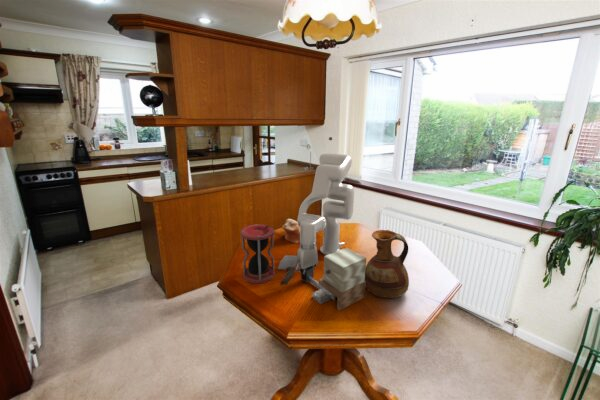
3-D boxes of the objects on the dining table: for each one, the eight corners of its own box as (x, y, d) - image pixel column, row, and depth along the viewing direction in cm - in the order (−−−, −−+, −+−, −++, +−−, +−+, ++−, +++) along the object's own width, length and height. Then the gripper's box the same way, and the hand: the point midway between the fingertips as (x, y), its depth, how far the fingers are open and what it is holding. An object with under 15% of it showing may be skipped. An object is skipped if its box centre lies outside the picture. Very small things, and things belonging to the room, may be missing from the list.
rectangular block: (322, 292, 135) (322, 288, 135) (330, 299, 131) (331, 294, 130) (312, 297, 132) (312, 293, 131) (320, 304, 127) (320, 299, 127)
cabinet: (343, 282, 143) (345, 246, 137) (364, 297, 132) (368, 258, 126) (318, 294, 134) (319, 255, 128) (339, 310, 123) (341, 269, 117)
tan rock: (277, 239, 190) (276, 218, 186) (305, 229, 207) (305, 209, 203) (290, 246, 181) (290, 224, 176) (319, 235, 198) (320, 214, 193)
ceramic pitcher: (360, 278, 147) (364, 223, 138) (400, 279, 147) (407, 224, 138) (367, 302, 129) (373, 241, 120) (413, 303, 128) (422, 242, 119)
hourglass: (276, 281, 144) (275, 235, 136) (243, 285, 141) (241, 238, 133) (272, 265, 159) (271, 222, 151) (242, 268, 156) (240, 225, 148)
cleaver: (291, 285, 141) (291, 281, 141) (272, 284, 142) (272, 280, 142) (298, 257, 169) (298, 253, 169) (282, 256, 170) (282, 252, 170)
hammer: (307, 276, 147) (308, 264, 145) (337, 298, 131) (338, 285, 129) (301, 279, 145) (301, 266, 143) (331, 302, 128) (332, 288, 126)
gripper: (316, 237, 147) (315, 269, 152) (289, 246, 137) (289, 280, 142) (326, 243, 141) (324, 276, 146) (298, 252, 131) (298, 287, 137)
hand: (307, 277), depth 144 cm, fingers closed on hammer, 4 cm apart
